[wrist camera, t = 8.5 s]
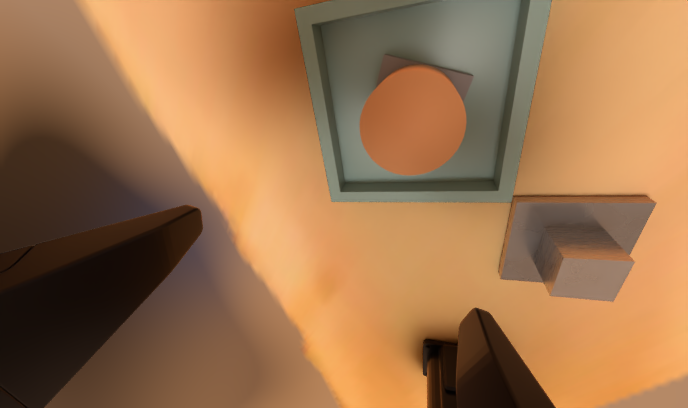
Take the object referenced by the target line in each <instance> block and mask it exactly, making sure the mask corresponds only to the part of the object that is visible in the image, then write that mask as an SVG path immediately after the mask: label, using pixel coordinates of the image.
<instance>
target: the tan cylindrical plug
mask: <svg viewBox="0 0 688 408" xmlns="http://www.w3.org/2000/svg"><path fill="white" fill-rule="evenodd" d="M473 78H474V76H473V75H472V74H468V73H464V72H460V71H456V70H452V69H448V68H443V67H439V66H435V65H431V64H427V63H423V62H419V61H414V60H410V59H406V58H402V57H398V56H394V55H389V54H384V56H383V60H382V64H381V68H380V72H379V77H378V81H377V85H376V89H375V90H374V91H373V92H372V93H371V95H370V96H369V97H368V99H367V101H366V102H365V105H364V107H363V109H362V113H361V117H360V136H361V140H362V143H363V146H364V148H365V150H366V152H367V153H368V155H369V156H370V157H371V159H372V160H373V161H374V162H375V163H376V164H378V165H379V166H380V167H382V168H383V169H385V170H387V171H389V172H392V173H395V174H399V175H420V174H424V173H428V172H430V171H433V170H435V169H437V168H439V167H440V166H442V165H443V164H445V163H446V162H447V161H448V160H449V159H450V158H451V157H452V156H453V155H454V154H455V152H456V151H457V150H458V148H459V146H460V144H461V142H462V140H463V137H464V134H465V130H466V111H465V106H464V104H463V101H464V99H465V97H466V94H467V92H468V90H469V87H470V85H471V83H472V80H473Z"/></svg>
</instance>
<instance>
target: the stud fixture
mask: <svg viewBox="0 0 688 408" xmlns="http://www.w3.org/2000/svg"><path fill="white" fill-rule="evenodd" d="M655 205H656V202H654V201H653V200H652V199H650V198H649V197H647V196H513V201H512V206H511V211H510V216H509V221H508V226H507V231H506V236H505V241H504V246H503V251H502V256H501V261H500V266H499V271H498V272H499V275H500V279H505V280H518V281H531V282H543V283H544V284H545V286H546V288H547V290H548V292H549V295H550V296H557V297H568V298H579V299H590V300H601V301H612V302H613V301H614V300H615V298H616V296H617V294H618V292H619V290H620V288H621V287H622V285H623V283H624V281H625V279H626V277H627V276H628V274H629V272H630V270H631V268H632V266H633V264H634V263H635V261H634V260H633V259H632V258H631V257H630V256H629V255H630V253H631V251H632V249H633V247H634V245H635V244H636V242H637V240H638V238H639V236H640V234H641V232H642V230H643V228H644V226H645V224H646V222H647V220H648V218H649V217H650V215H651V213H652V211H653V209H654V207H655Z"/></svg>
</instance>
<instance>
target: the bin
mask: <svg viewBox="0 0 688 408" xmlns="http://www.w3.org/2000/svg"><path fill="white" fill-rule="evenodd" d="M551 2H552V0H331V1H326V2H322V3H318V4H313V5H309V6H305V7H300V8H296V9H294V11H295V16H296V21H297V27H298V32H299V37H300V42H301V47H302V52H303V57H304V63H305V68H306V73H307V78H308V83H309V88H310V93H311V99H312V104H313V109H314V114H315V119H316V124H317V129H318V134H319V140H320V145H321V150H322V155H323V160H324V165H325V170H326V176H327V181H328V186H329V191H330V196H331V201H332V202H496V203H511V202H512V197H513V192H514V187H515V182H516V177H517V172H518V167H519V162H520V157H521V152H522V147H523V142H524V137H525V132H526V127H527V122H528V117H529V112H530V107H531V102H532V97H533V92H534V87H535V82H536V77H537V72H538V67H539V62H540V57H541V52H542V47H543V42H544V37H545V32H546V27H547V22H548V17H549V12H550V7H551ZM384 54H389V55H394V56H398V57H402V58H406V59H410V60H414V61H419V62H423V63H427V64H431V65H435V66H439V67H443V68H448V69H452V70H456V71H460V72H464V73H468V74H472V75H473V76H474V78H473V80H472V83H471V85H470V87H469V90H468V92H467V94H466V97H465V99H464V101H463V104H464V106H465V111H466V130H465V134H464V137H463V140H462V142H461V144H460V146H459V148H458V150H457V151H456V152H455V154H454V155H453V156H452V157H451V158H450V159H449V160H448V161H447V162H446V163H445V164H443V165H442V166H440V167H439V168H437V169H435V170H433V171H430V172H428V173H424V174H420V175H399V174H395V173H392V172H389V171H387V170H385V169H383V168H382V167H380V166H379V165H378V164H376V163H375V162H374V161H373V160H372V159H371V157H370V156H369V155H368V153H367V152H366V150H365V148H364V146H363V143H362V140H361V136H360V117H361V113H362V109H363V107H364V105H365V102H366V101H367V99H368V97H369V96H370V95H371V93H372V92H373V91H374V90H375V89H376V85H377V81H378V77H379V72H380V68H381V64H382V60H383V56H384Z"/></svg>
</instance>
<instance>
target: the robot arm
mask: <svg viewBox="0 0 688 408" xmlns="http://www.w3.org/2000/svg"><path fill="white" fill-rule="evenodd" d="M202 229H203V224H202V215H201V211H200V209H199V208H197V207H194V206H191V205H183V206H179V207H176V208H172V209H168V210H164V211H160V212H157V213H153V214H149V215H146V216H141V217H137V218H134V219H130V220H126V221H122V222H118V223H115V224H111V225H107V226H103V227H99V228H96V229H92V230H88V231H84V232H81V233H76V234H73V235H69V236H65V237H61V238H57V239H54V240H50V241H46V242H42V243H39V244H36V245H35V246H33V245H31V246H27V247H23V248H19V249H16V250H12V251H8V252H4V253H0V408H44V407H45V406H46V405H47V404H48V403H49V402H50V401H51V400H52V399H53V398H54V397H55V396H56V395H57V394H58V392H60V390H61V389H62V388H63V387H64V386H65V385H66V384H67V383H68V382H69V381H70V380H71V379H72V378H73V377H74V375H75V374H76V373H77V372H78V371H79V370H80V369H81V368H82V367H83V366H84V365H85V364H86V363H87V362H88V360H89V359H90V358H91V357H92V356H93V355H94V354H95V353H96V352H97V351H98V350H99V349H100V348H101V347H102V346H103V344H104V343H105V342H106V341H107V340H108V339H109V338H110V337H111V336H112V335H113V334H114V333H115V332H116V331H117V330H118V329H119V327H120V326H121V325H122V324H123V323H124V322H125V321H126V320H127V319H128V318H129V317H130V316H131V315H132V314H133V312H134V311H135V310H136V309H137V308H138V307H139V306H140V305H141V304H142V303H143V302H144V301H145V300H146V299H147V298H148V297H149V295H150V294H151V293H152V292H153V291H154V290H155V289H156V288H157V287H158V286H159V285H160V284H161V283H162V282H163V281H164V279H165V278H166V277H167V276H168V275H169V274H170V273H171V272H172V270H173V269H174V268H175V267H176V266H177V264H178V263H179V262H180V260H181V259H182V258H183V256H184V255H185V254H186V252H187V251H188V250H189V249H190V247H191V246H192V245H193V243H194V242H195V241H196V240H197V238H198V237H199V236H200V234H201V232H202ZM423 375H424V376H427V408H556V407H555V406H554V404H553V403H552V402H551V400H550V399H549V397H548V396H547V394H546V393H545V391H544V390H543V389H542V387H541V386H540V384H539V383H538V381H537V380H536V379H535V377H534V376H533V374H532V373H531V371H530V370H529V368H528V367H527V366H526V364H525V363H524V361H523V360H522V358H521V357H520V356H519V354H518V353H517V351H516V350H515V348H514V347H513V345H512V344H511V343H510V341H509V340H508V338H507V337H506V335H505V334H504V333H503V331H502V330H501V328H500V327H499V325H498V324H497V322H496V321H495V320H494V318H493V317H492V315H491V314H490V313H489V312H487V311H484V310H482V309H479V308H473V309H472V310H471V311H470V312H469V313H468V314H467V316H466V317H465V318H464V319H463V320H462V322H461V323H460V326H459V335H458V344H452V343H446V342H439V341H432V340H424V342H423Z"/></svg>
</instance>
